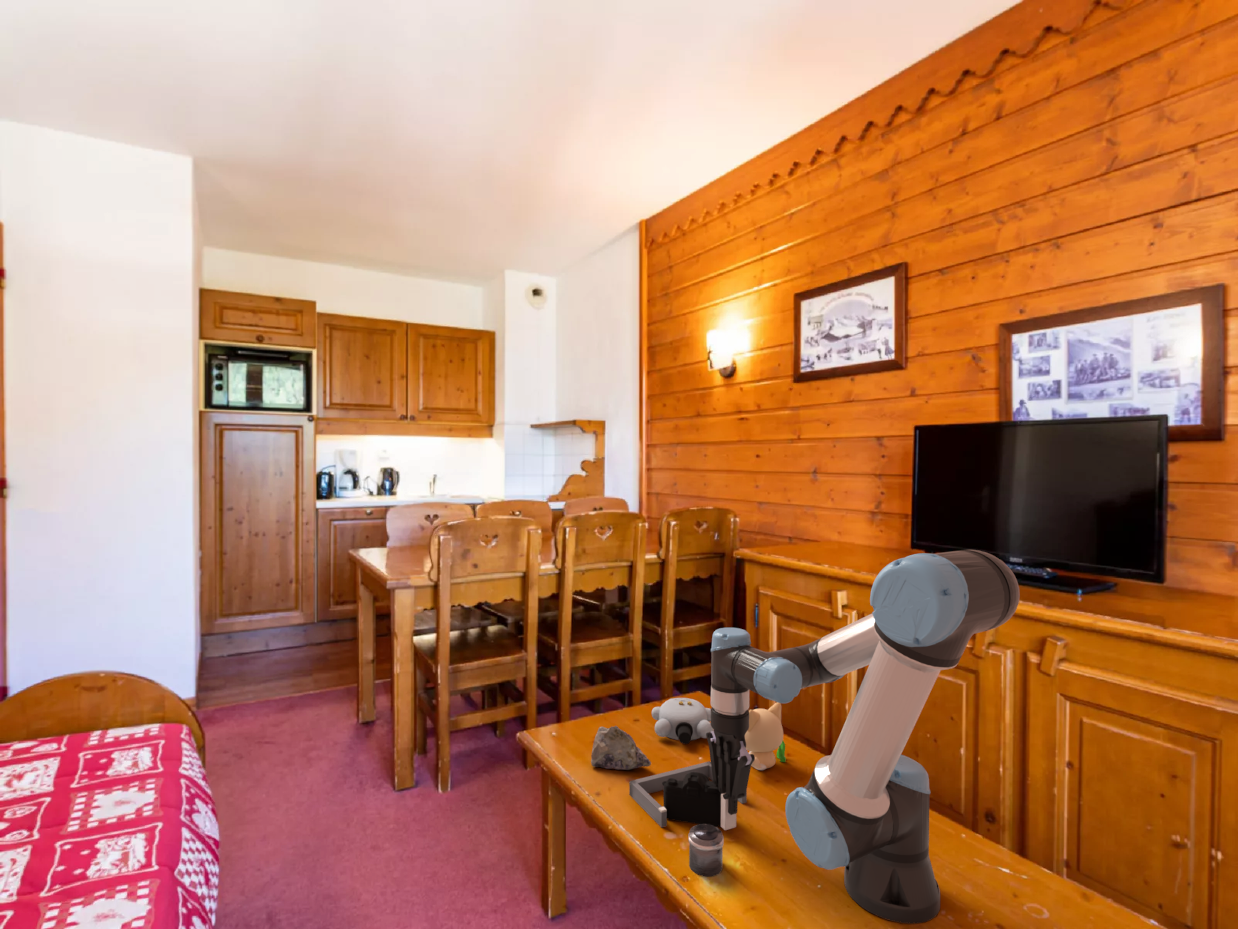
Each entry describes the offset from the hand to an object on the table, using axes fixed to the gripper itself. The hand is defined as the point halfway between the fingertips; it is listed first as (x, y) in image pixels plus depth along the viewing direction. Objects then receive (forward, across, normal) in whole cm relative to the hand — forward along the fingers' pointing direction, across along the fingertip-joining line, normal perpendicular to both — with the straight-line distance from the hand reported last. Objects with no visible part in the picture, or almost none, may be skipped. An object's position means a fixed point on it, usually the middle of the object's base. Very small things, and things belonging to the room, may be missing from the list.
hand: (728, 826), depth 125 cm
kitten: (+2, +20, -25) cm, 32 cm away
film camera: (+2, +9, +1) cm, 10 cm away
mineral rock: (+2, +34, +7) cm, 35 cm away
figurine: (+2, +44, -17) cm, 47 cm away
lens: (+2, -6, +10) cm, 11 cm away
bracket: (+2, +15, 0) cm, 15 cm away
